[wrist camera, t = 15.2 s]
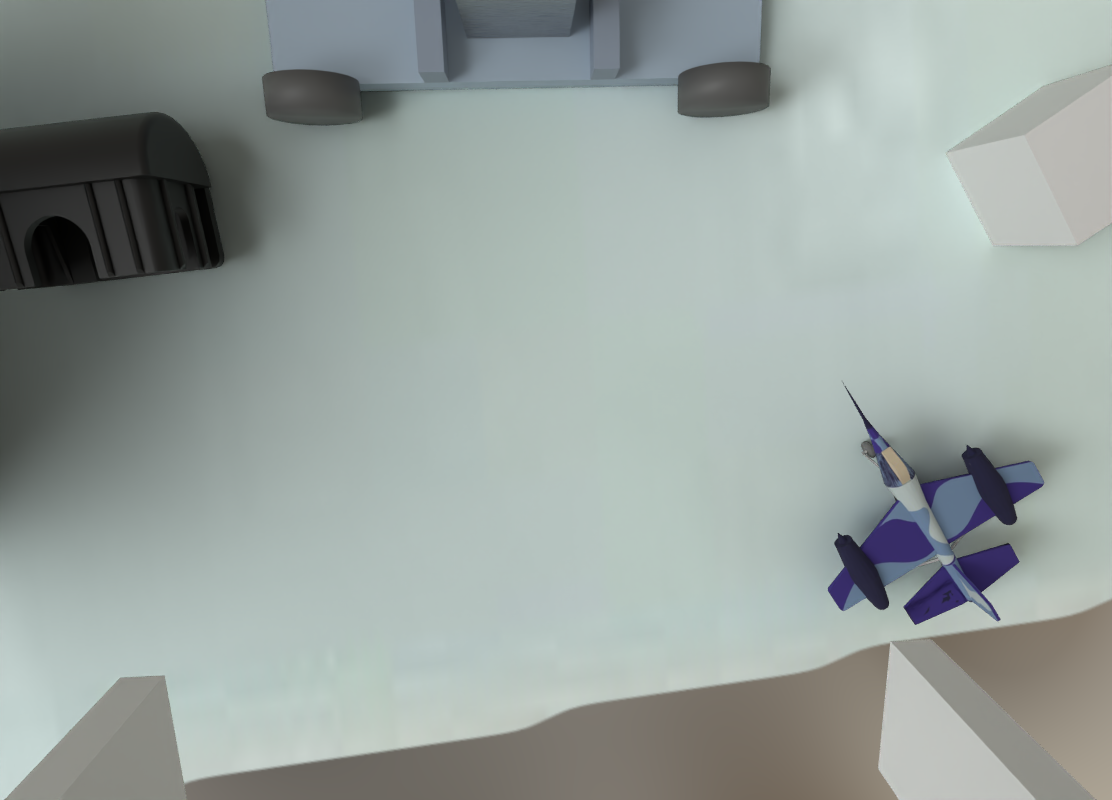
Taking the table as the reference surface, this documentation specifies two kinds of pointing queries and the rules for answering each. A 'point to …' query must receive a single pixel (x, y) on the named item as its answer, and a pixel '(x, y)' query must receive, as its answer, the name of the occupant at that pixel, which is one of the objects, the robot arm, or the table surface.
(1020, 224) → the light grey cube
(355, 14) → the chassis
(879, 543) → the toy airplane
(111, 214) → the black arched housing
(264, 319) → the table surface
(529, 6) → the capped grey pillar
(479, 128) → the table surface
